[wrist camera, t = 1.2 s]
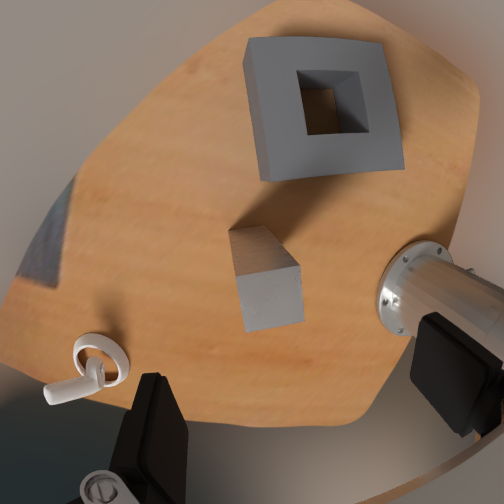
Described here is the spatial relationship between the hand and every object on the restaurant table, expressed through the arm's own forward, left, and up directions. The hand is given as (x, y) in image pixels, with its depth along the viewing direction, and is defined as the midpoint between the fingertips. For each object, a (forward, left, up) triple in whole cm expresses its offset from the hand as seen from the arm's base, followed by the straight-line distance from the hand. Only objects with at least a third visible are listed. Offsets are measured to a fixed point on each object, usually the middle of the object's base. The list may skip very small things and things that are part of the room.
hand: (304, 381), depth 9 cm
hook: (+20, +11, -20) cm, 31 cm away
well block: (-8, -12, -20) cm, 25 cm away
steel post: (0, 0, -20) cm, 20 cm away
